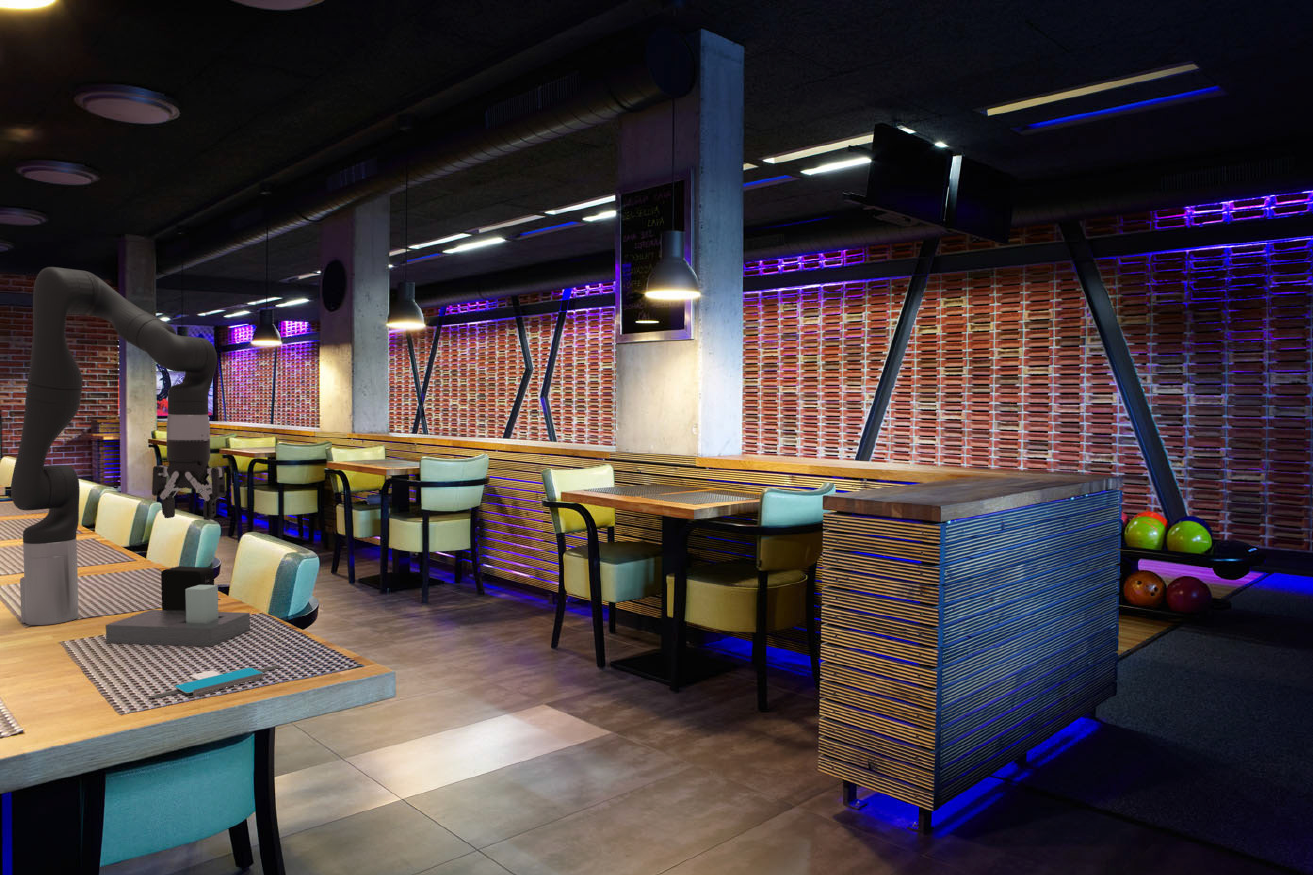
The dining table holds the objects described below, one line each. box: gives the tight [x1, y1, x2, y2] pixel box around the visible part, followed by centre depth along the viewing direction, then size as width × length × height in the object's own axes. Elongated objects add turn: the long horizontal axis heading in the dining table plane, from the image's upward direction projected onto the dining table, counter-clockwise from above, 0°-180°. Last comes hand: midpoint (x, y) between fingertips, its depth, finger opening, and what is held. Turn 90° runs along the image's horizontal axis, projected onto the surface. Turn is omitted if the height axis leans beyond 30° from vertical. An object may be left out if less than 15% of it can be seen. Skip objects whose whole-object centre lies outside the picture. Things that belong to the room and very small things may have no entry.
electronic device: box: [160, 565, 215, 611], centre depth 182 cm, size 4×10×10 cm, turn 79°
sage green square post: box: [185, 584, 219, 624], centre depth 163 cm, size 4×4×10 cm
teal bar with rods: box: [149, 665, 280, 699], centre depth 137 cm, size 20×12×2 cm, turn 140°
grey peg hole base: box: [105, 609, 251, 648], centre depth 164 cm, size 22×12×4 cm, turn 83°
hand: (189, 518), depth 164 cm, fingers open, 8 cm apart
